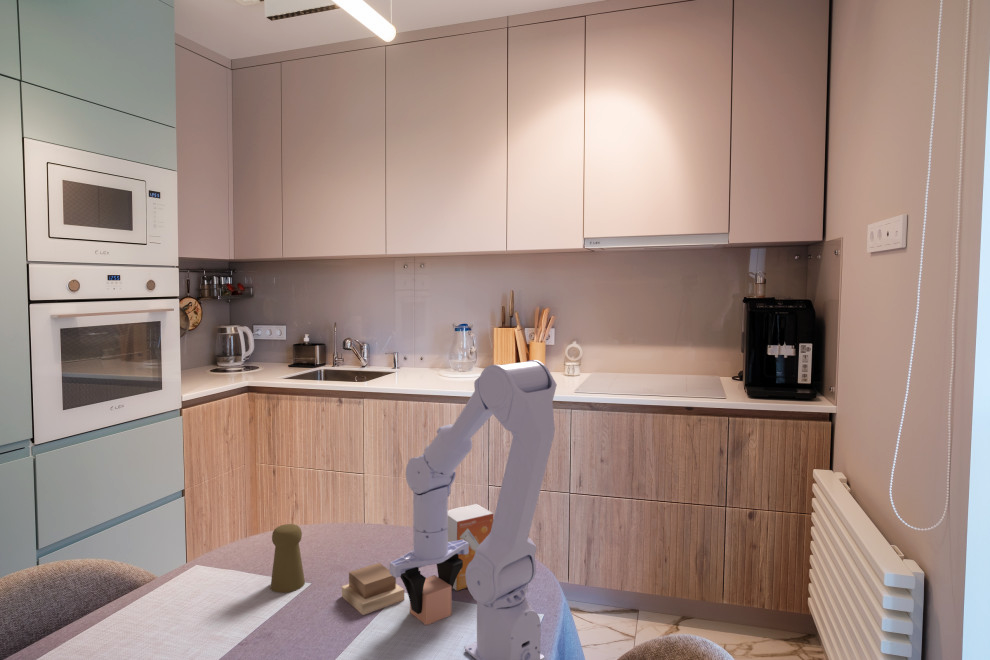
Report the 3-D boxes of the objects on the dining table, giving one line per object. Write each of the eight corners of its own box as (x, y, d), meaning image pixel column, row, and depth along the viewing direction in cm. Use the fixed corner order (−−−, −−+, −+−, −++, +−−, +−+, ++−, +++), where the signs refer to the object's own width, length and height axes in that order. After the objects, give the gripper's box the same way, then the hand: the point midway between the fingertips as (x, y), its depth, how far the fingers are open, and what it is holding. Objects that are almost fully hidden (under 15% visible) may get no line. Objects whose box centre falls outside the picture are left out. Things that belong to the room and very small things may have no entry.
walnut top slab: (395, 588, 106) (395, 574, 106) (364, 599, 102) (364, 584, 102) (379, 576, 110) (379, 562, 110) (349, 585, 107) (348, 572, 106)
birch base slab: (404, 603, 106) (404, 589, 105) (363, 618, 100) (362, 604, 100) (381, 586, 112) (381, 573, 112) (341, 599, 107) (341, 586, 106)
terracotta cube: (451, 614, 101) (451, 585, 100) (426, 625, 97) (426, 595, 97) (434, 603, 104) (434, 575, 104) (410, 612, 101) (409, 583, 101)
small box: (456, 592, 108) (456, 521, 108) (439, 578, 114) (439, 510, 113) (493, 580, 113) (494, 512, 112) (476, 567, 118) (476, 502, 117)
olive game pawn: (262, 588, 109) (261, 529, 109) (288, 574, 115) (287, 518, 114) (286, 595, 107) (286, 535, 106) (311, 581, 112) (311, 524, 111)
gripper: (452, 509, 108) (452, 583, 108) (380, 529, 99) (380, 609, 99) (476, 521, 102) (476, 598, 103) (402, 543, 93) (402, 628, 94)
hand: (430, 605), depth 101 cm, fingers closed on terracotta cube, 5 cm apart
